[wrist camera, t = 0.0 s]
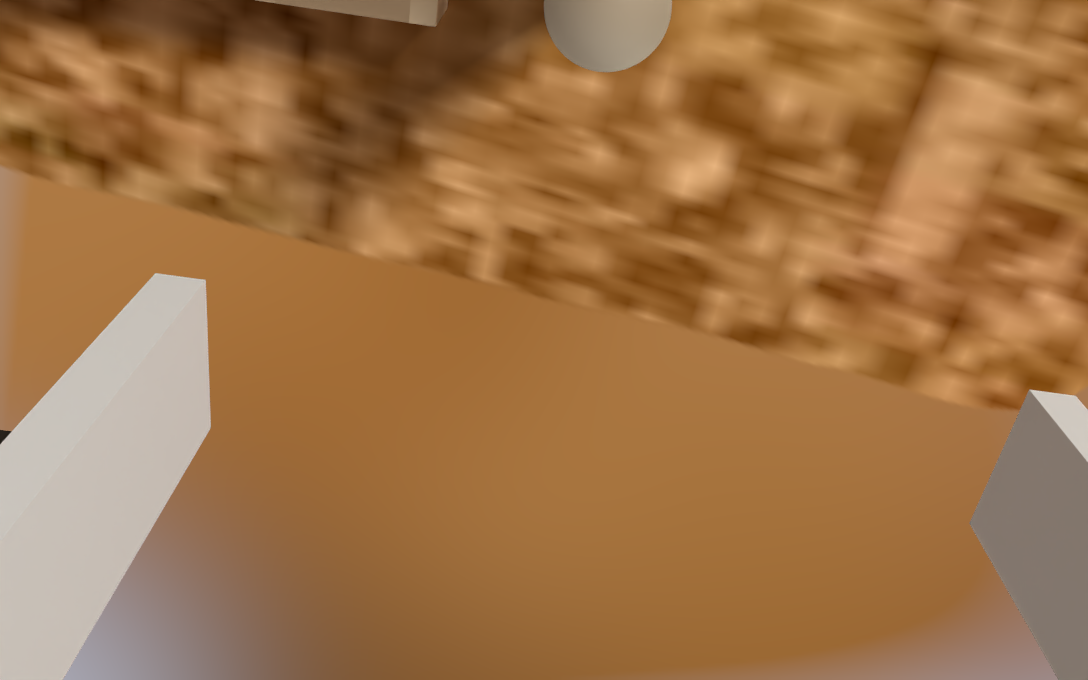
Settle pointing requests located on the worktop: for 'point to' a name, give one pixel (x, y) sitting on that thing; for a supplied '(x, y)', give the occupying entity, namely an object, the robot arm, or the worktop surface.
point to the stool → (380, 9)
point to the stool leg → (607, 30)
